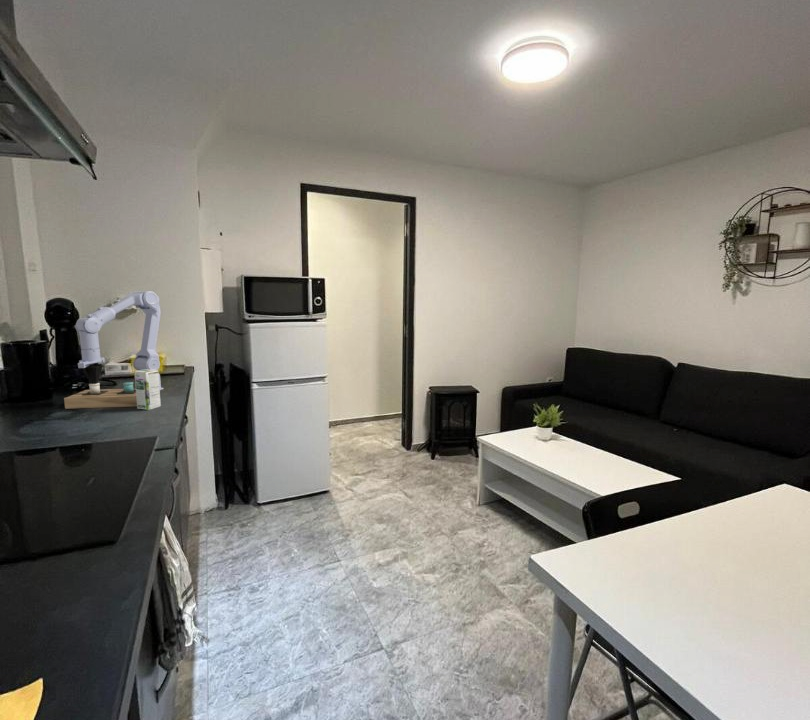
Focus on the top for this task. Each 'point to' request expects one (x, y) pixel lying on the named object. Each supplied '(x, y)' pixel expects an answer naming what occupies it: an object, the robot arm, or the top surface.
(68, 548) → the top surface
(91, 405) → the oak board
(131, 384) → the teal peg
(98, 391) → the cream peg
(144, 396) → the syrup box
